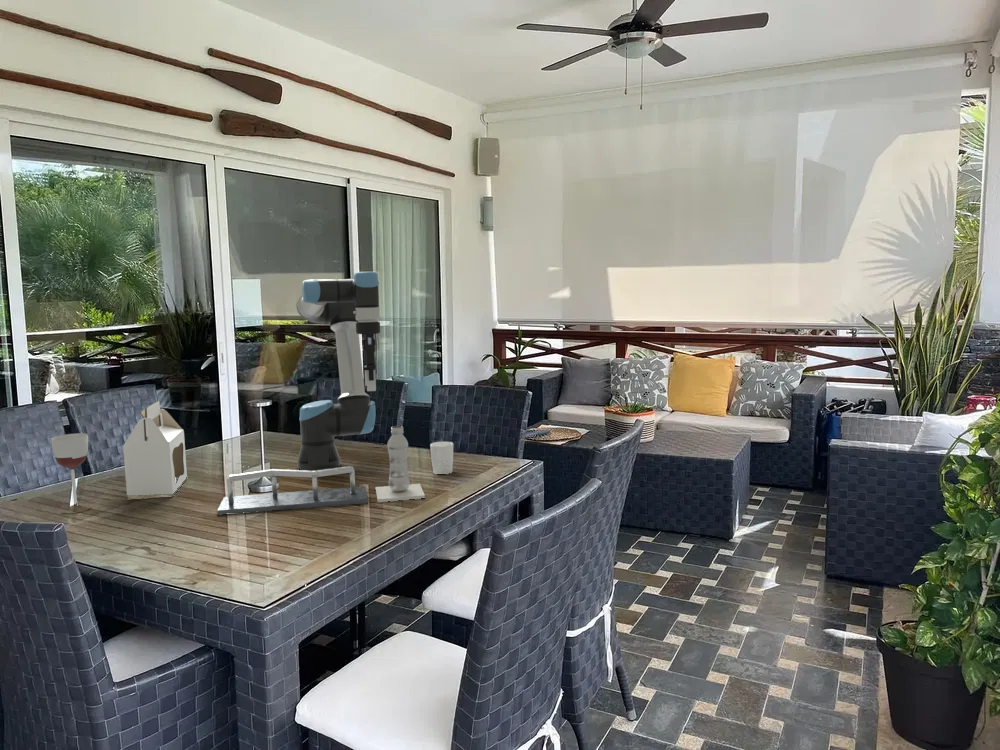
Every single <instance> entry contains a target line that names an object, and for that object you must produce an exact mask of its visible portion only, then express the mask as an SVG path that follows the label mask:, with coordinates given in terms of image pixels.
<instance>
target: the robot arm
mask: <svg viewBox="0 0 1000 750" xmlns="http://www.w3.org/2000/svg"><path fill="white" fill-rule="evenodd" d="M379 284H380V282H379V275H378V273H377V272H375V271H356V272H354V274H353V278H333V279H332V278H330V279H328V278H322V279H321V278H320V279H319V278H318V279H316V278H313V279H305V280H303V281H302V285H301V295H300V296H299V298H297V301H296V311H297V313H298V314H299V316H300V317H301V318H303V319H304V320H306V321H308V322H311V323H314V324H325V325H326V324H329V325H330V330H331V331H333V333H334V335H335V344H336V353H337V354H336V356H337V364H338V376H339V386H340V395H339V397H337V403H334V402H333V401H332V399H324V400H318V401H316V400H315V401H313V402H309V403H305V404H304V405H302V406H301V407H300V408H299V425H300V443H301V444H300V450H299V454H298V457H297V461H296V463H297V464H296V465H297V467H296V468H297V470H299V469H300V470H308V471H317V470H324V469H332V468H339V467H340V466H341V457H340V454H339V452H338V449H337V447H336V443H335V437H342V436H343V437H344V436H355V435H363V434H364V435H365V434H369V433H371V432H373V430H374V427H375V423H376V401H373V400H371V398H370V395H369V394H368V393H366V392H365V387H366V391H367V392H376V391H377V381H376V378H377V377H376V358H375V352H376V340H375V338H374V337H373V335H376V334H381V322H380V320H381V314H380V313H381V312H380V311H381V310H380V294H379V293H380V291H379V290H380V289H379V286H380V285H379ZM360 335H363V336H362V339H361V343H360ZM361 345H362V349H363V350H362V351H361ZM362 352H363V354H364V355H363V358H364V359H363V360H362ZM362 362H363V363H362ZM363 364H364V366H363ZM363 369H364V371H363Z"/></svg>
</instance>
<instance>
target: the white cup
mask: <svg viewBox="0 0 1000 750" xmlns="http://www.w3.org/2000/svg"><path fill="white" fill-rule="evenodd" d="M429 446H430V458H431V459H430V460H431V466H432V473H433V474H434V475H437V474H446V475H450V474H452V473H453V464H454V443H453V442H452V441H436V442H435V441H434V442H432V443H430V445H429ZM449 473H450V474H449Z"/></svg>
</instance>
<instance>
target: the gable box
mask: <svg viewBox="0 0 1000 750" xmlns="http://www.w3.org/2000/svg"><path fill="white" fill-rule="evenodd" d="M160 405H161V404H160V400H156V401H155V402H153V403H152V404H150V405H148V406H146V407H145V408H144V409H143V410H142V411H139V413H140V415H141V417H142V418H140V419H139V420H138V422H137V423H136V425H135V426H134V428H133V429H132V431H131V433H130V434H129V436H128V437H127V439H126V441H125V442H124V444H123V445H122V450H123V461H124V462H123V465H124V475H125V476H124V477H125V486H126V496H127V495H150V494H151V495H153V494H173V493H174V492H175V491H176V489H177V488H178V487H179V486H180V485H181V484H182V482H183V481H184V480H185V479H186V477H187V478H188V473H187V457H186V444H185V442H186V441H185V431H184V429H183V428H182V426H180V425H179V423H178V422H177V421H176V420H175V419H174V418H173V416H172V415H171V414H170V413H169V412H168V411H167V410H166V409H164V408H161V406H160ZM175 477H178V479H177V482H176V483H175Z"/></svg>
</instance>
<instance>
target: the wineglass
mask: <svg viewBox="0 0 1000 750" xmlns="http://www.w3.org/2000/svg"><path fill="white" fill-rule="evenodd" d="M88 435H89V434H88V433H84V432H83V433H68V434H67V433H66V434H61V435H57V436H53V437H51V447H52V452H53V456H54V459H55V461H56V463H57V464H58V465H59V466H61V467H63V468H67V469H69V470H70V474H71V484H72V497H73V498H72V499H73V505H74V504H76V503H77V504H78V498H77V485H76V484H77V483H76V474H75V468H77V467H79V466H81V465H82V464H83V463H84V462H85V461H86V460H87V456H88V450H89V449H88V448H89V436H88Z"/></svg>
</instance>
